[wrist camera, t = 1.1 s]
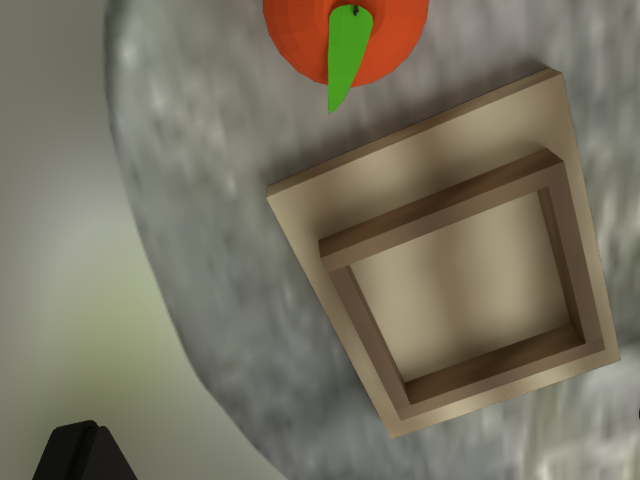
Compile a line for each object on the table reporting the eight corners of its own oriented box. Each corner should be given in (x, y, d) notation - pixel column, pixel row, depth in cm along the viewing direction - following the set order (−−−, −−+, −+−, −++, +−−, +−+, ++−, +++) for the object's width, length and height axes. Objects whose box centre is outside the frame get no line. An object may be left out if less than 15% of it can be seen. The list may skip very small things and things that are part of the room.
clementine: (388, 99, 29) (418, 143, 23) (255, 80, 28) (247, 120, 22) (425, -76, 25) (473, -81, 19) (273, -104, 24) (270, -118, 18)
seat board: (549, 67, 29) (581, 82, 26) (609, 345, 38) (638, 381, 35) (266, 186, 31) (265, 213, 28) (387, 422, 40) (396, 463, 37)
